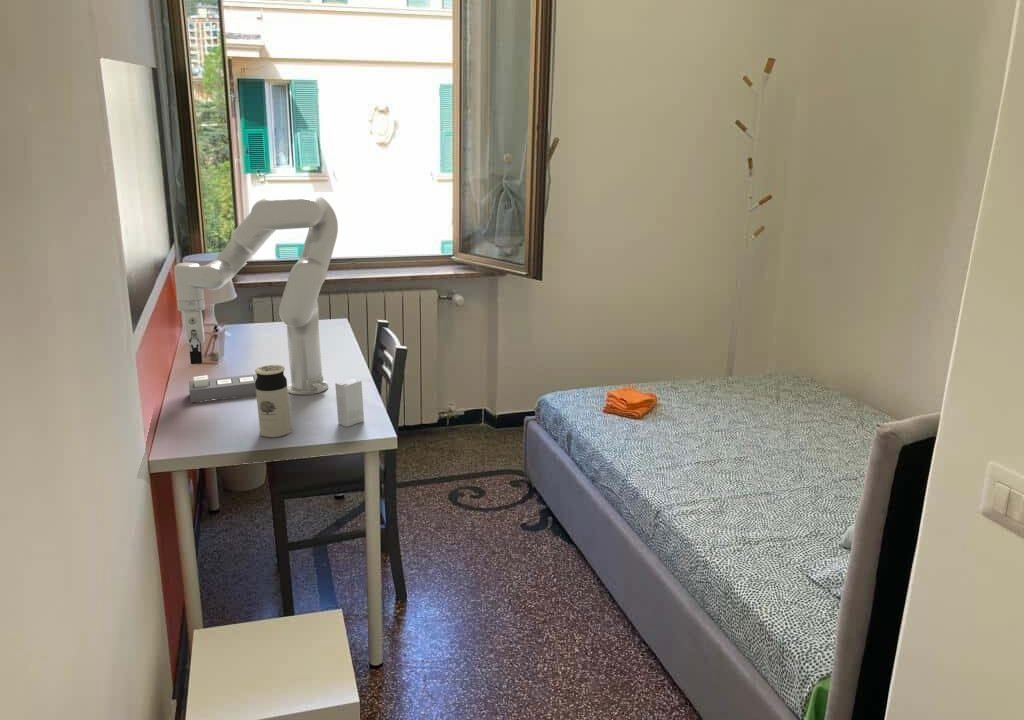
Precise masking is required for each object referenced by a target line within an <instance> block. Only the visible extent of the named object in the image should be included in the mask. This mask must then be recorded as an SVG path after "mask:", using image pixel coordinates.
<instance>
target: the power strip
mask: <svg viewBox="0 0 1024 720" xmlns="http://www.w3.org/2000/svg"><path fill="white" fill-rule="evenodd" d="M245 377H253V379H254V381H248V382H240V379H239V378H245ZM226 379H231V382H232V383H230V384H222V385H218V384H217V380H226ZM256 379H257V374H256V373H253V374H245V375H244V374H243V375H238V376H237V375H236V376H227V377H225V376H224V377H218V378H208V382H209V386H204V387H196V388H195V387H194V380H191V381H188V391H189V397H190V399H189V400H190V403H191V402H197V403H201V402H200V401H205V400H212V399H221V400H226V399H225V398H230V399H234V398H233V397H238V398H245V397H244V396H246V397H253V395H254V396H256V386H255V381H256ZM223 398H224V399H223ZM205 402H206V401H205Z"/></svg>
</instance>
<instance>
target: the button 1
mask: <svg viewBox="0 0 1024 720" xmlns="http://www.w3.org/2000/svg"><path fill="white" fill-rule="evenodd" d="M208 379H209V376H208V374H207V375H198V376H193V381H194V387H195V388H196V387H204V386H209V382H208Z"/></svg>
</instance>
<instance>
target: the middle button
mask: <svg viewBox="0 0 1024 720" xmlns="http://www.w3.org/2000/svg"><path fill="white" fill-rule="evenodd" d="M230 383H232V382H231V379H226V380H217V384H218V385H222V384H230Z"/></svg>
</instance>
